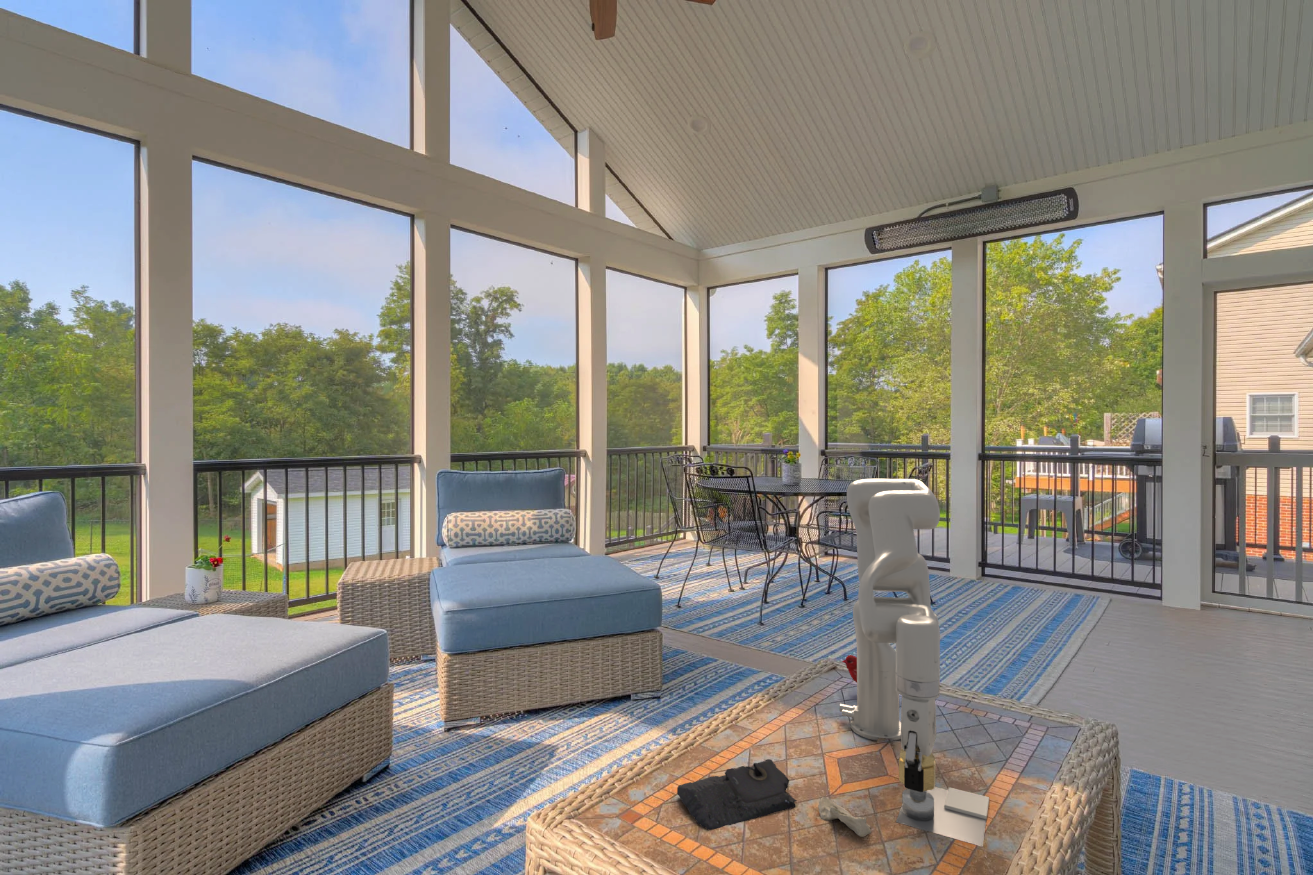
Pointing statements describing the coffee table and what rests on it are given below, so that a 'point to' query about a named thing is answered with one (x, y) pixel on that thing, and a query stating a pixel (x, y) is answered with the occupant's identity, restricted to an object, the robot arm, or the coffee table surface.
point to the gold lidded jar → (927, 765)
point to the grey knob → (918, 805)
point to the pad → (967, 803)
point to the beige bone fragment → (843, 816)
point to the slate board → (949, 821)
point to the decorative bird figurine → (851, 666)
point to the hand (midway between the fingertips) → (917, 779)
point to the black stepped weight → (737, 795)
